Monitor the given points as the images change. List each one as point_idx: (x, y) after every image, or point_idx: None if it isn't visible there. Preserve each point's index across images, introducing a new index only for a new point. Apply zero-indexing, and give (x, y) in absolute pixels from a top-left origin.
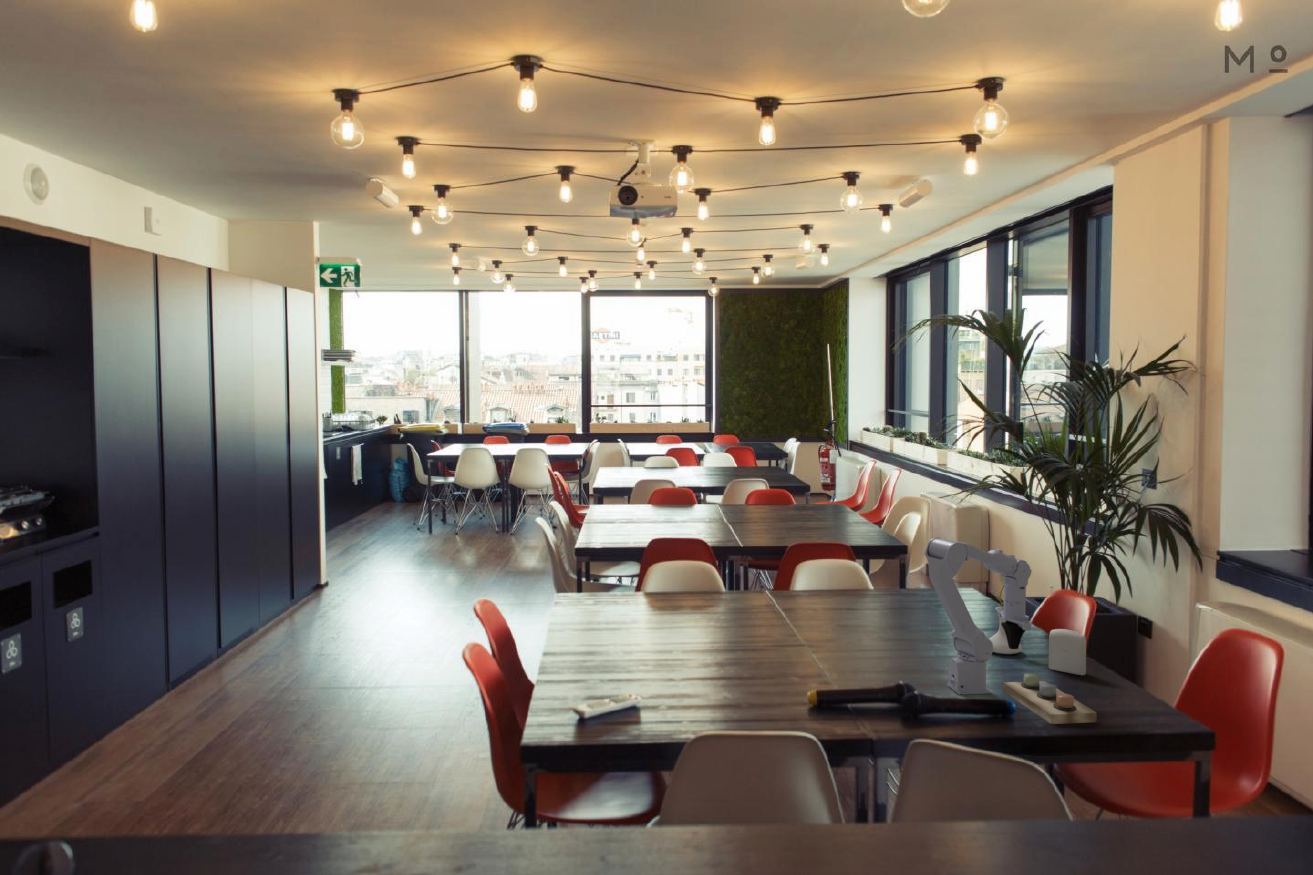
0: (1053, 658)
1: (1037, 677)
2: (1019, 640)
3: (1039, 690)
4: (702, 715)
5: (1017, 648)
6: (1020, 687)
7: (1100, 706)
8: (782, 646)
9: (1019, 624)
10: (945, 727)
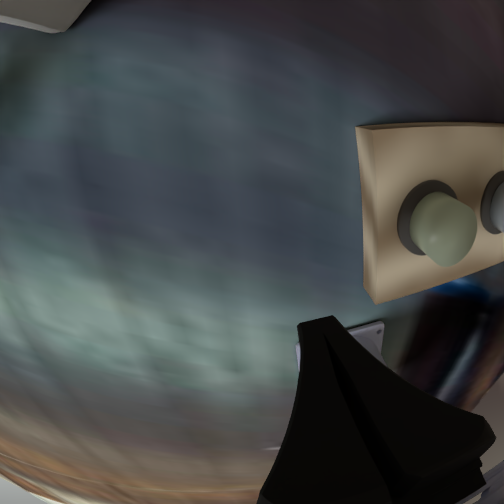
0: (55, 4)
1: (475, 222)
2: (367, 359)
3: (501, 231)
4: None
5: (335, 320)
6: (428, 259)
7: (483, 37)
8: (128, 495)
9: (491, 485)
10: (476, 383)
